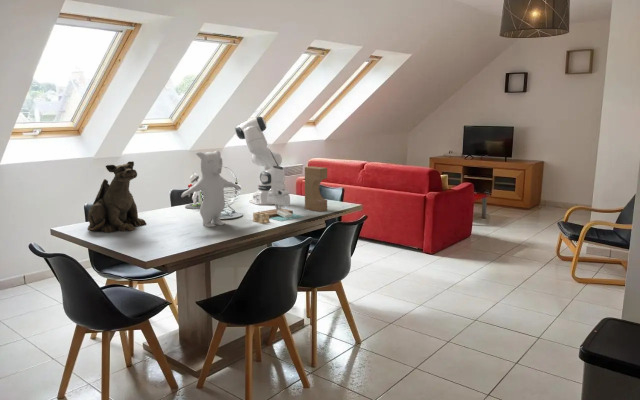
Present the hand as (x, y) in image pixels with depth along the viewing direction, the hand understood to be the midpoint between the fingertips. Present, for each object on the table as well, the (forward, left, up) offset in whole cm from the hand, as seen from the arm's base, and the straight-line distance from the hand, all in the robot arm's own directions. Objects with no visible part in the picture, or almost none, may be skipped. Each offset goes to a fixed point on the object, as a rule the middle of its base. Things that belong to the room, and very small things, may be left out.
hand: (278, 211), depth 339 cm
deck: (-5, 0, -3) cm, 6 cm away
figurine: (-65, -24, -3) cm, 69 cm away
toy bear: (-6, -46, -3) cm, 46 cm away
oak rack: (+7, -20, -3) cm, 21 cm away
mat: (+8, 0, -3) cm, 9 cm away
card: (+6, 0, -2) cm, 6 cm away
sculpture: (-38, -92, -3) cm, 99 cm away
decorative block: (+2, +32, -3) cm, 32 cm away
